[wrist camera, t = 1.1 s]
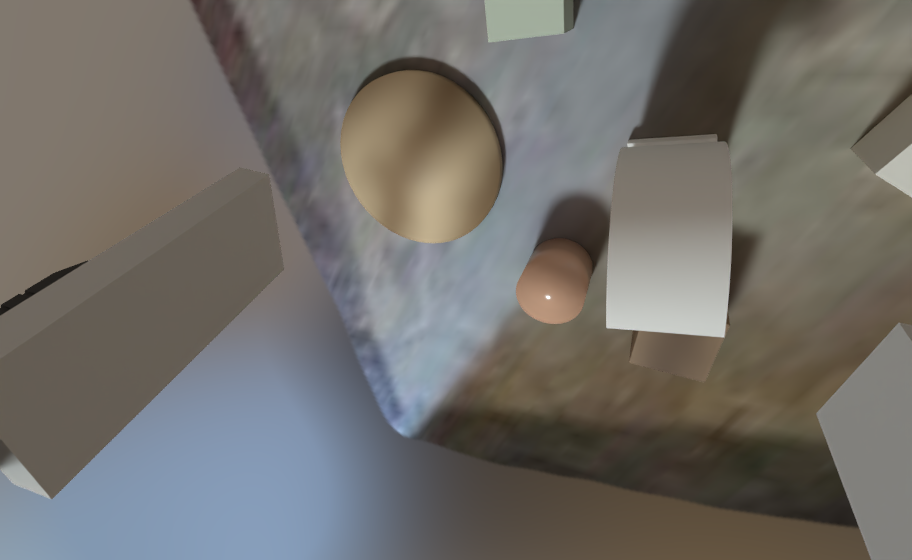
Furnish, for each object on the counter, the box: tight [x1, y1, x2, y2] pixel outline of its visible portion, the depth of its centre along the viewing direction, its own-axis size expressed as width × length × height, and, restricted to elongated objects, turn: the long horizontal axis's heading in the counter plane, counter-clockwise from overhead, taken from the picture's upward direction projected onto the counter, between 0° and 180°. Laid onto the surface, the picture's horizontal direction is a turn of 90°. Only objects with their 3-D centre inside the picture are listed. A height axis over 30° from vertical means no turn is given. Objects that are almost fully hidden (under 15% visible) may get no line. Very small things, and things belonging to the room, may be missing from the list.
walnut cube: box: [629, 309, 730, 382], centre depth 31 cm, size 4×4×4 cm
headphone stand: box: [606, 134, 733, 337], centre depth 23 cm, size 5×6×12 cm
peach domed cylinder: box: [516, 238, 593, 324], centre depth 32 cm, size 4×4×4 cm
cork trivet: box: [341, 70, 503, 243], centre depth 33 cm, size 12×12×1 cm
